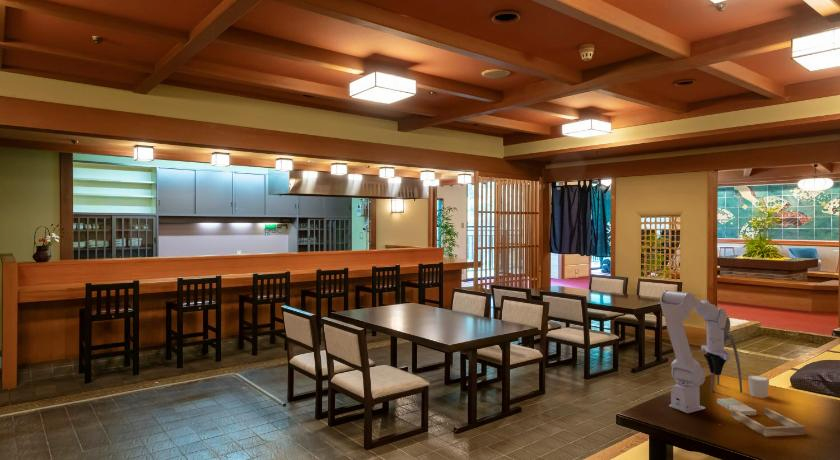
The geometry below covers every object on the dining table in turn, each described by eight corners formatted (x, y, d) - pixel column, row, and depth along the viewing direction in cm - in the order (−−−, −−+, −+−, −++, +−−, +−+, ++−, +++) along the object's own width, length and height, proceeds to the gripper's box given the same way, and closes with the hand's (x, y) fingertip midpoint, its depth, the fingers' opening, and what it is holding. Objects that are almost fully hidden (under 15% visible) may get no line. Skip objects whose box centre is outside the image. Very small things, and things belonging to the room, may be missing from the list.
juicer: (742, 392, 201) (741, 317, 200) (711, 391, 203) (710, 316, 202) (732, 384, 210) (732, 312, 210) (703, 383, 213) (702, 312, 212)
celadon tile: (717, 404, 191) (717, 398, 191) (732, 403, 192) (732, 398, 191) (727, 410, 185) (727, 404, 185) (743, 409, 186) (743, 403, 185)
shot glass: (768, 394, 199) (768, 376, 198) (769, 400, 193) (769, 381, 193) (748, 391, 202) (747, 374, 202) (748, 396, 196) (748, 379, 196)
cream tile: (728, 410, 185) (728, 405, 185) (744, 409, 185) (744, 404, 185) (740, 417, 179) (740, 411, 179) (756, 416, 179) (756, 410, 179)
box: (731, 416, 178) (731, 409, 178) (767, 414, 179) (767, 407, 179) (765, 436, 162) (765, 428, 162) (805, 434, 163) (805, 426, 163)
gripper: (738, 342, 189) (738, 379, 189) (713, 333, 203) (713, 367, 204) (720, 343, 188) (720, 379, 189) (696, 334, 203) (696, 368, 203)
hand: (715, 373), depth 196 cm, fingers closed
